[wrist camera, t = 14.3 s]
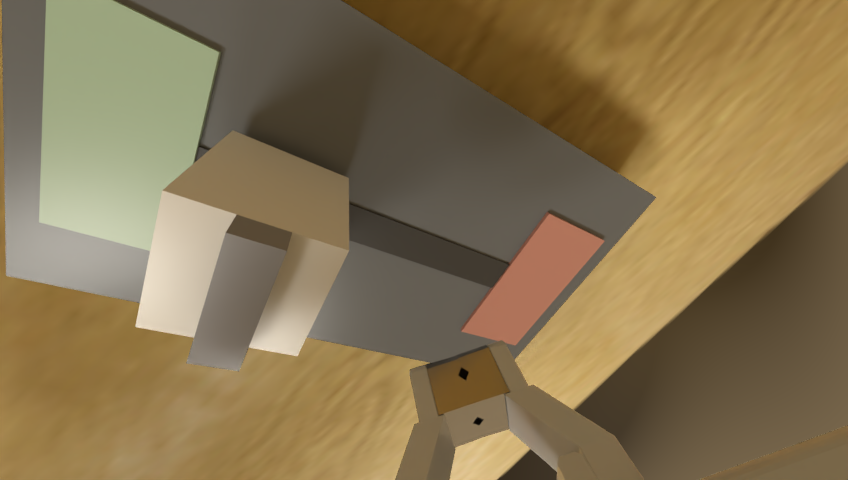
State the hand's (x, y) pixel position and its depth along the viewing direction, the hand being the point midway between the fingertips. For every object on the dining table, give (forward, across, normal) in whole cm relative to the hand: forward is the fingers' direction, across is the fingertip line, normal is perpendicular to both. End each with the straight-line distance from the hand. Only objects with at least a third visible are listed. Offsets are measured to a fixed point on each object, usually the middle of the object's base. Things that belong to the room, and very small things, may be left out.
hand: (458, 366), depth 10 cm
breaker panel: (+9, +2, -2) cm, 10 cm away
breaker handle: (+6, +5, -4) cm, 9 cm away
